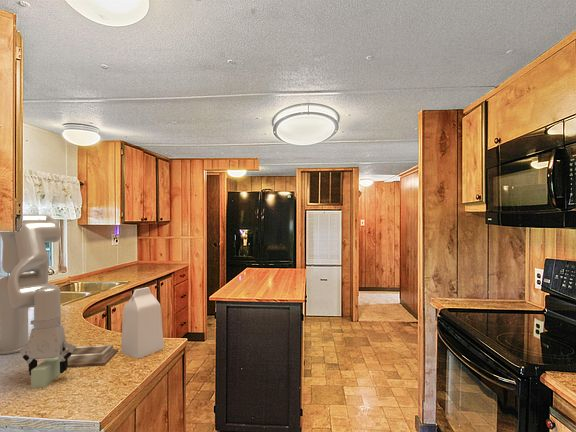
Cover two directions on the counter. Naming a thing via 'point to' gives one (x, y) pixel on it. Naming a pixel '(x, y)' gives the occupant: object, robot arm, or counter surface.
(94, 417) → the counter surface
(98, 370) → the counter surface
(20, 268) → the robot arm
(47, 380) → the bar
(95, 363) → the brown rectangular tray
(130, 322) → the milk
